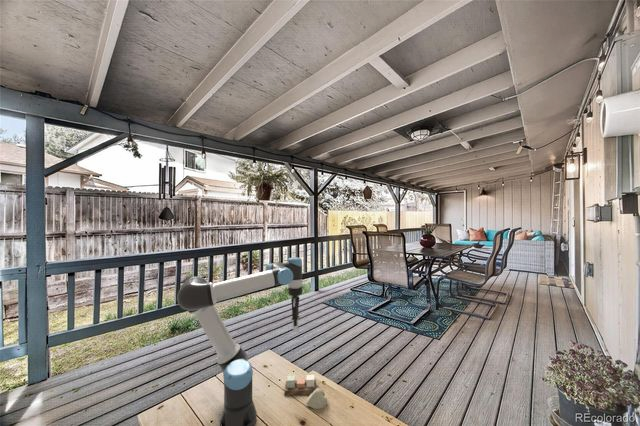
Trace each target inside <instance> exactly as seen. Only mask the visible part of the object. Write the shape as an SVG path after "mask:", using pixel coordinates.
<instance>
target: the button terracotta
mask: <svg viewBox="0 0 640 426" xmlns="http://www.w3.org/2000/svg"><path fill="white" fill-rule="evenodd" d="M296 380H297V388H305V380H306V378H305V377H304V378H296Z"/></svg>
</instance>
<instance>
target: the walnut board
mask: <svg viewBox="0 0 640 426" xmlns="http://www.w3.org/2000/svg"><path fill="white" fill-rule="evenodd" d="M306 380H307V379H305V388H297V379H295V388H287V380H285V386H284V392H283V393H284V396H293V395H295V396H297V395H311V394H312V393H313V392H314V390H316V389H317V379H314V387H307V381H306Z"/></svg>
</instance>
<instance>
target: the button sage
mask: <svg viewBox="0 0 640 426" xmlns="http://www.w3.org/2000/svg"><path fill="white" fill-rule="evenodd" d="M286 377H287V378H286V381H287V389H288V388H295V380H296V375H294V374H293V375H287V376H286Z"/></svg>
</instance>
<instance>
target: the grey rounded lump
mask: <svg viewBox="0 0 640 426" xmlns="http://www.w3.org/2000/svg"><path fill="white" fill-rule="evenodd" d="M327 403H328V399H327V397H326V393H325V391H324V390H322V389H321V388H316V390H314V392H313V393H312V394H309V396H308V397H307V400H306V402H305V404H306V406H308V407H310V408H311V409H315V410H320V409H322V408H325V407H326V406H327Z"/></svg>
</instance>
